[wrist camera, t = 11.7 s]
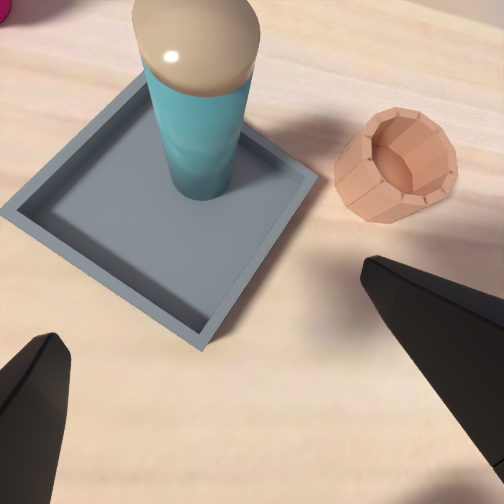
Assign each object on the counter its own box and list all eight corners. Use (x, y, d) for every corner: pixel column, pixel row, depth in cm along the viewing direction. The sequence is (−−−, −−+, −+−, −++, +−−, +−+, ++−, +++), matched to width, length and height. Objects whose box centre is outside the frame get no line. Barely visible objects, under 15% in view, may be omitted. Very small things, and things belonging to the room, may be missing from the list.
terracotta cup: (428, 174, 27) (470, 148, 23) (393, 240, 25) (433, 226, 21) (359, 125, 27) (390, 90, 23) (319, 187, 25) (343, 162, 20)
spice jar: (234, 152, 23) (266, -8, 11) (226, 205, 22) (253, 90, 10) (175, 140, 22) (145, -42, 11) (165, 195, 21) (119, 58, 10)
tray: (307, 189, 24) (318, 176, 22) (202, 346, 20) (202, 352, 18) (159, 84, 24) (155, 59, 22) (21, 224, 20) (-4, 212, 17)
